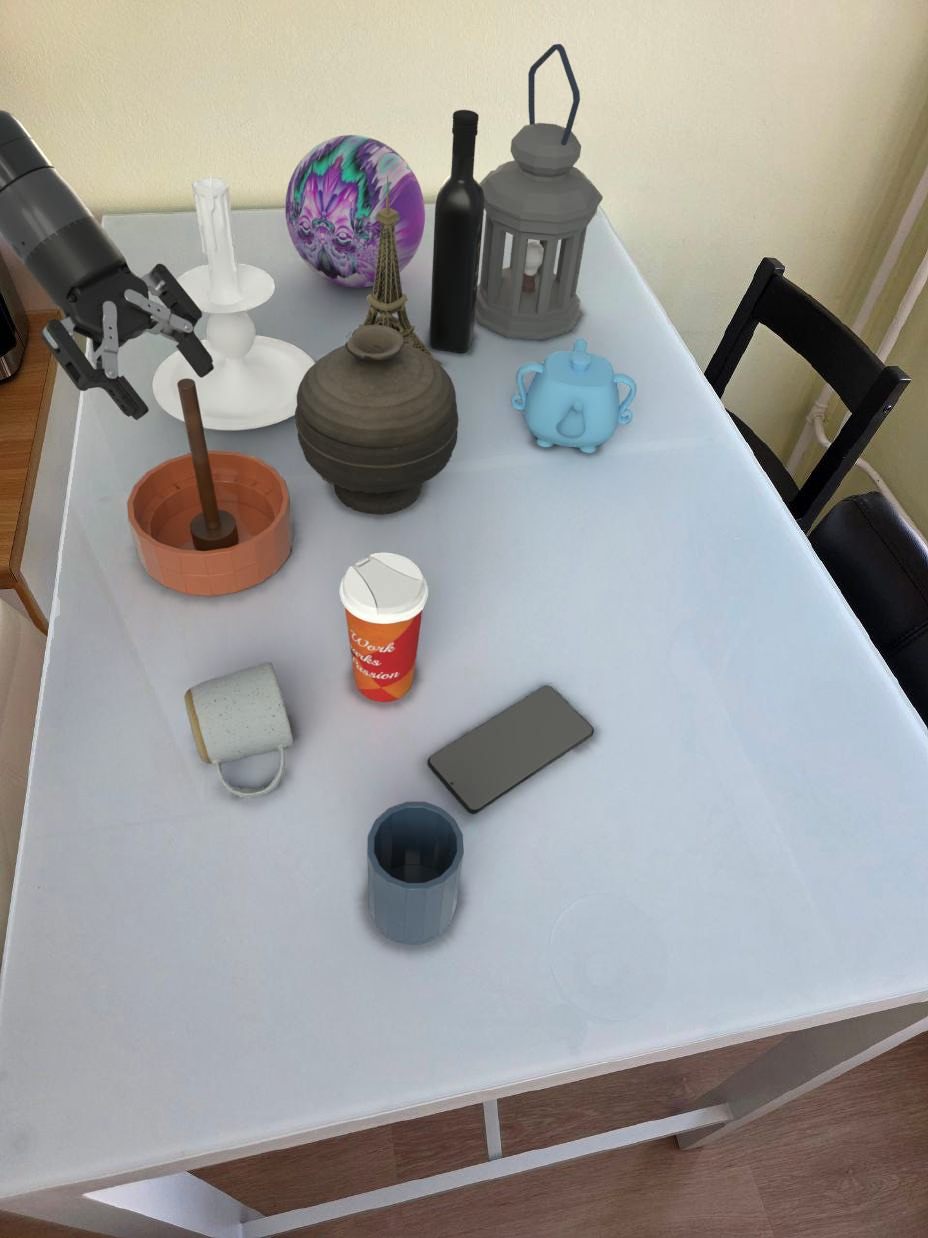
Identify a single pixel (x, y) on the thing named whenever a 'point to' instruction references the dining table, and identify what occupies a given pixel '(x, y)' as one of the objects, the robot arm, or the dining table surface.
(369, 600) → the paper cup
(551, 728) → the smartphone
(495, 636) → the dining table surface
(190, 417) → the brown wooden plunger
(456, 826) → the crock
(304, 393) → the pot
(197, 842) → the dining table surface
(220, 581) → the mixing bowl
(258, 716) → the ceramic mug
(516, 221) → the lantern
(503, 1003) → the dining table surface
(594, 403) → the blue sugar bowl
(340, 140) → the decorative sphere
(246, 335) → the candlestick
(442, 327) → the wine bottle
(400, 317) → the eiffel tower
